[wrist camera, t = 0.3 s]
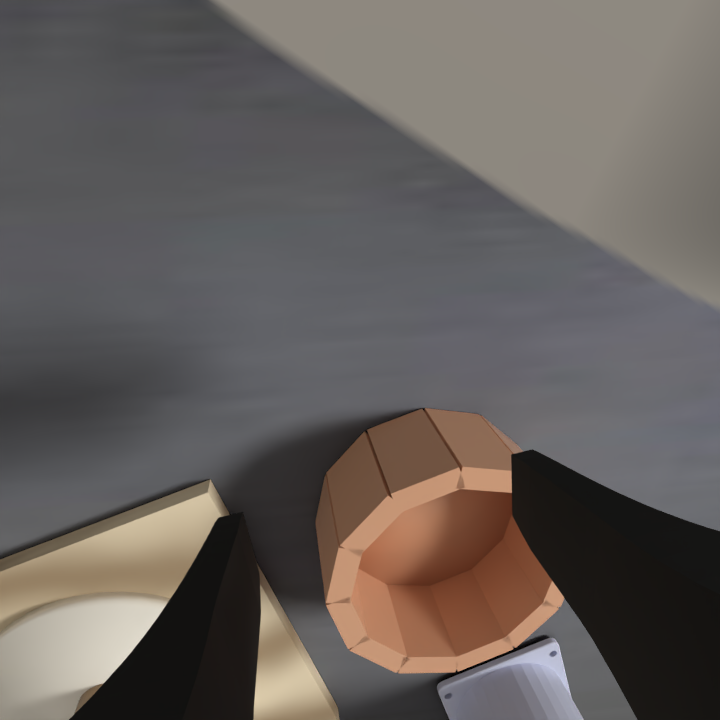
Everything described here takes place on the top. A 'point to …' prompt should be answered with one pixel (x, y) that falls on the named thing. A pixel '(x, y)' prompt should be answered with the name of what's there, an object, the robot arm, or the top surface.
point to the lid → (69, 651)
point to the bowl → (429, 546)
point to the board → (164, 588)
